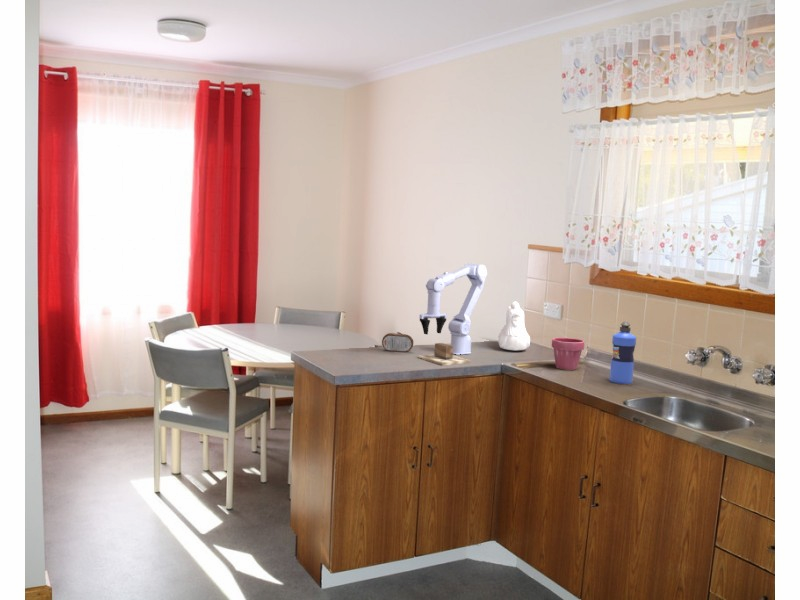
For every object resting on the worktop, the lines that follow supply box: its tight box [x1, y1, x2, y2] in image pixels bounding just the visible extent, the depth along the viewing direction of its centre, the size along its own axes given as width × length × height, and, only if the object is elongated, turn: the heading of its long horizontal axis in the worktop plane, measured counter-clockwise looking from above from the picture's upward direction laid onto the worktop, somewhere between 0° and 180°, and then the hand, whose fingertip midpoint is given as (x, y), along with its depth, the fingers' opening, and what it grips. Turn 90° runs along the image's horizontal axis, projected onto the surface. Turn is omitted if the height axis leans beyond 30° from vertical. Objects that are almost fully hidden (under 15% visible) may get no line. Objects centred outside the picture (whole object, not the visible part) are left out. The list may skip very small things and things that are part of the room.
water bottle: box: [609, 321, 637, 385], centre depth 295 cm, size 9×9×25 cm
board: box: [417, 353, 471, 366], centre depth 324 cm, size 16×18×1 cm
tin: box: [381, 332, 414, 353], centre depth 341 cm, size 15×3×8 cm, turn 84°
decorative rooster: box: [497, 300, 531, 352], centre depth 360 cm, size 25×16×25 cm, turn 167°
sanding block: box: [433, 342, 454, 360], centre depth 325 cm, size 4×8×6 cm, turn 38°
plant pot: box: [551, 337, 585, 371], centre depth 319 cm, size 14×14×13 cm
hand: (432, 333), depth 333 cm, fingers open, 7 cm apart
